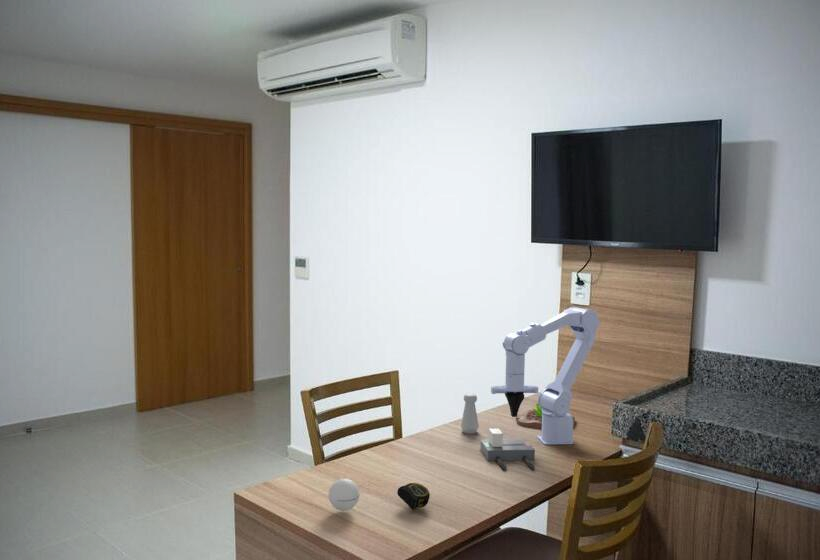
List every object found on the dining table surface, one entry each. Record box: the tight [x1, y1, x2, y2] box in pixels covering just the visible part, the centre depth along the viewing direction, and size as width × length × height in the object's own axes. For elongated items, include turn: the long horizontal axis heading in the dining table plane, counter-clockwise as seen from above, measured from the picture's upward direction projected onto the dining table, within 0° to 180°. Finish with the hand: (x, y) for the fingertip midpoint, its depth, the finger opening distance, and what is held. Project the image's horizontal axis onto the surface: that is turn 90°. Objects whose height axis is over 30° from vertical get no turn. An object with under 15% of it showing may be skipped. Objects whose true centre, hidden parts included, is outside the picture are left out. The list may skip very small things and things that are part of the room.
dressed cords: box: [495, 456, 535, 471], centre depth 193 cm, size 9×9×1 cm
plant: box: [515, 401, 576, 430], centre depth 236 cm, size 20×20×11 cm
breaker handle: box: [488, 428, 504, 447], centre depth 201 cm, size 3×5×4 cm, turn 6°
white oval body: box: [328, 478, 371, 512], centre depth 160 cm, size 10×7×7 cm
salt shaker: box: [460, 393, 480, 435], centre depth 223 cm, size 6×6×13 cm
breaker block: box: [480, 438, 536, 462], centre depth 202 cm, size 14×10×3 cm
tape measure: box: [397, 482, 431, 510], centre depth 164 cm, size 7×7×4 cm
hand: (513, 416), depth 210 cm, fingers closed
